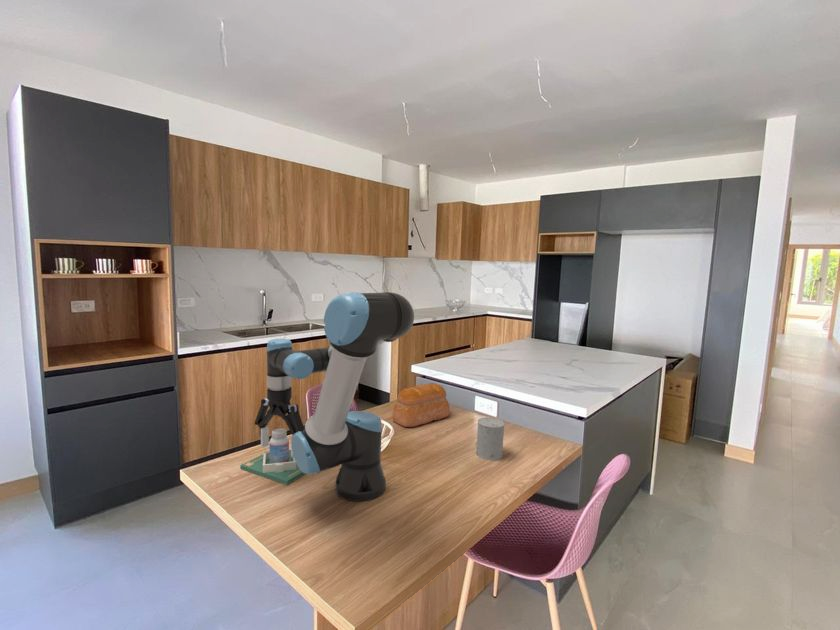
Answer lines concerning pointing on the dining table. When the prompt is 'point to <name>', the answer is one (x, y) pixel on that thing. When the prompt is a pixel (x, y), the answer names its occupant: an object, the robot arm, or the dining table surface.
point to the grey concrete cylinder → (490, 438)
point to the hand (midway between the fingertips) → (279, 450)
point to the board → (272, 474)
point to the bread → (420, 405)
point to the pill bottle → (279, 446)
